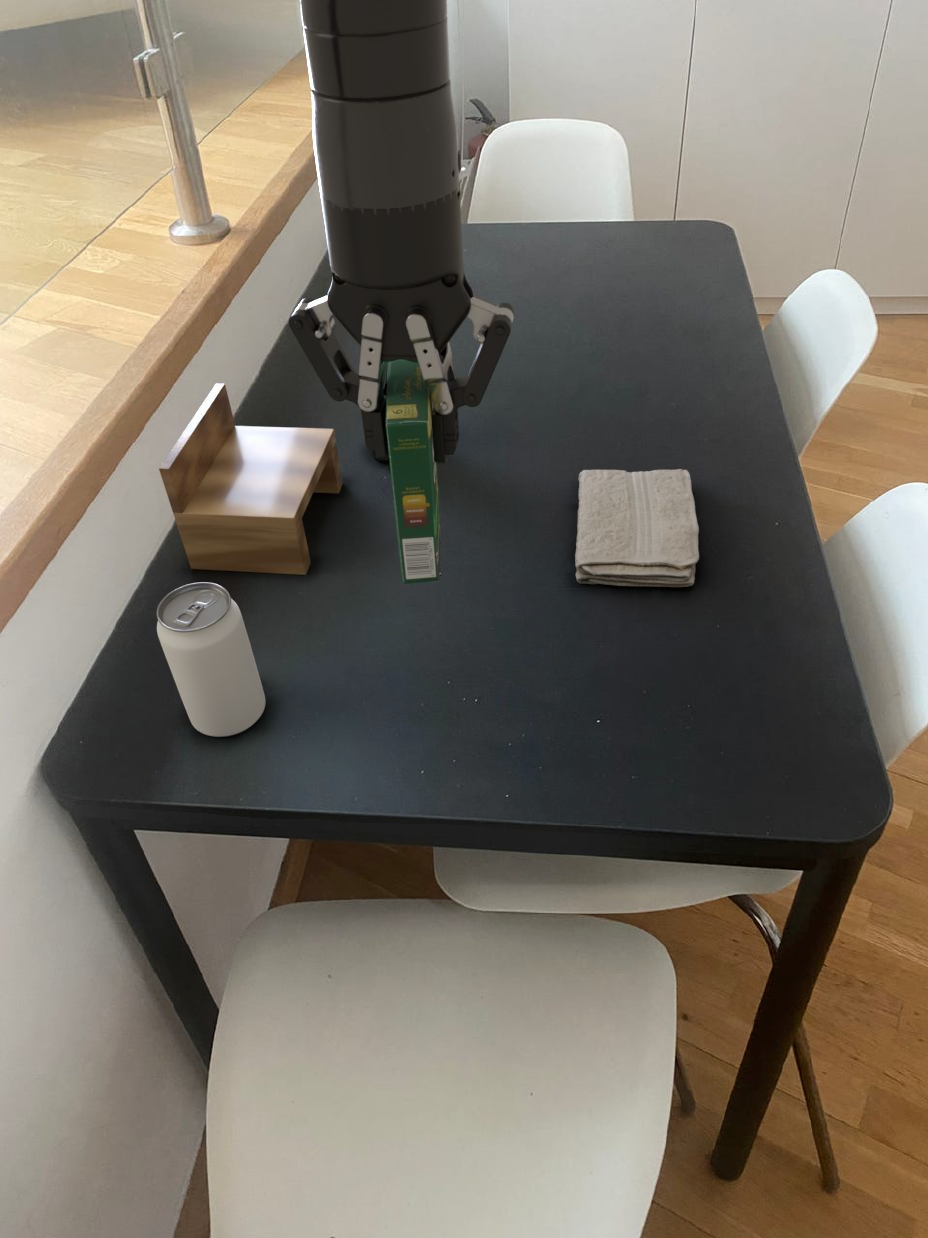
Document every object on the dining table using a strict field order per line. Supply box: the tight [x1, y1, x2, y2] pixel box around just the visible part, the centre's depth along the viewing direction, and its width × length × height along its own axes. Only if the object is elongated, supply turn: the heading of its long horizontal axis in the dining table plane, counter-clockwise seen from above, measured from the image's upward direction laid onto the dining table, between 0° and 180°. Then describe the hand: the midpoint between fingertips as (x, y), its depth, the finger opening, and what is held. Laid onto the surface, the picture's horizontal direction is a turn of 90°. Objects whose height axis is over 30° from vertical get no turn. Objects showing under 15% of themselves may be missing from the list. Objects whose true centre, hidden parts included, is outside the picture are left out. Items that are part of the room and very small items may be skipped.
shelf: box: [158, 383, 344, 576], centre depth 94 cm, size 16×12×12 cm
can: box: [156, 581, 266, 738], centre depth 74 cm, size 6×6×12 cm
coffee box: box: [386, 359, 442, 585], centre depth 62 cm, size 8×3×13 cm, turn 1°
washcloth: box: [574, 468, 700, 588], centre depth 92 cm, size 12×18×3 cm, turn 175°
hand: (414, 453), depth 61 cm, fingers closed on coffee box, 3 cm apart
